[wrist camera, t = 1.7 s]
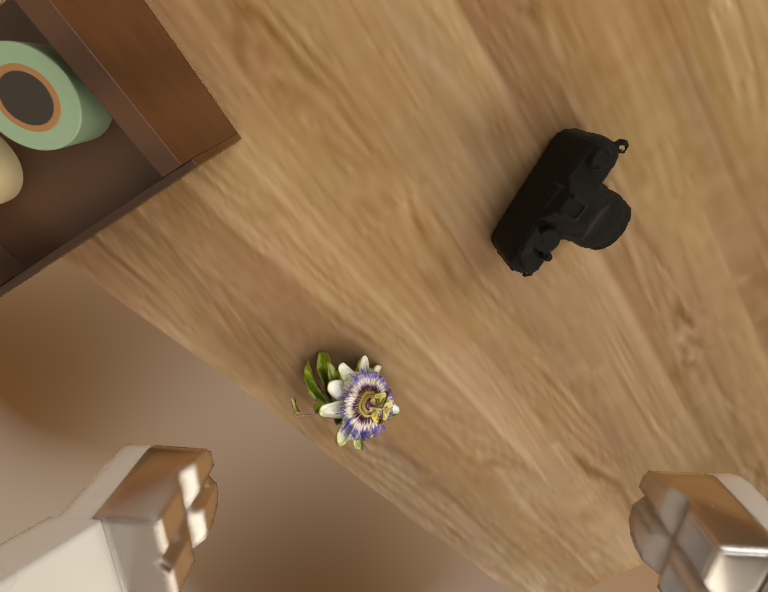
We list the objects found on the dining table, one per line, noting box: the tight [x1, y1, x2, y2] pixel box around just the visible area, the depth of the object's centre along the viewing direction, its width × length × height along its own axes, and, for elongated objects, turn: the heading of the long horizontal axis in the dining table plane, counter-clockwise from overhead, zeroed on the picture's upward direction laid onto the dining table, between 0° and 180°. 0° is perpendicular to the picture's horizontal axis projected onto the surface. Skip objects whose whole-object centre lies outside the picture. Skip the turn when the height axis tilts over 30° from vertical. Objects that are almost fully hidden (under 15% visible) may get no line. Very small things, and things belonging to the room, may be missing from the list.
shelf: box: [0, 0, 241, 297], centre depth 32 cm, size 14×20×15 cm
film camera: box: [491, 128, 631, 277], centre depth 41 cm, size 15×10×9 cm, turn 153°
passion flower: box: [291, 351, 400, 451], centre depth 52 cm, size 11×11×12 cm
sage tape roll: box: [0, 41, 112, 150], centre depth 27 cm, size 6×6×4 cm
